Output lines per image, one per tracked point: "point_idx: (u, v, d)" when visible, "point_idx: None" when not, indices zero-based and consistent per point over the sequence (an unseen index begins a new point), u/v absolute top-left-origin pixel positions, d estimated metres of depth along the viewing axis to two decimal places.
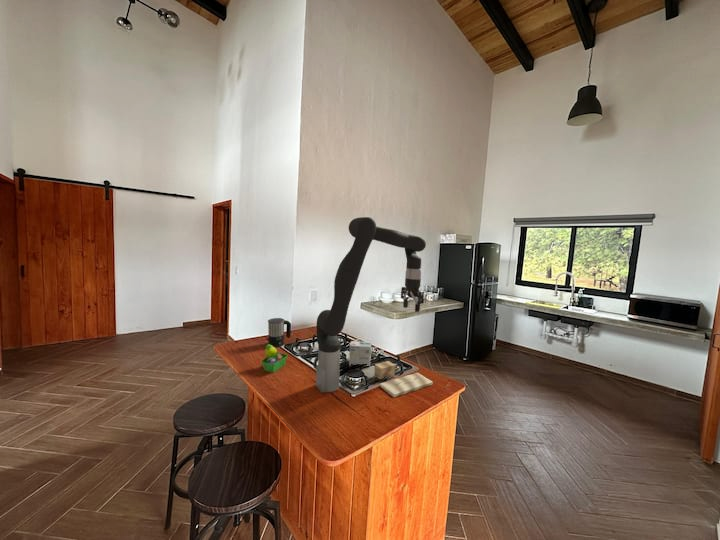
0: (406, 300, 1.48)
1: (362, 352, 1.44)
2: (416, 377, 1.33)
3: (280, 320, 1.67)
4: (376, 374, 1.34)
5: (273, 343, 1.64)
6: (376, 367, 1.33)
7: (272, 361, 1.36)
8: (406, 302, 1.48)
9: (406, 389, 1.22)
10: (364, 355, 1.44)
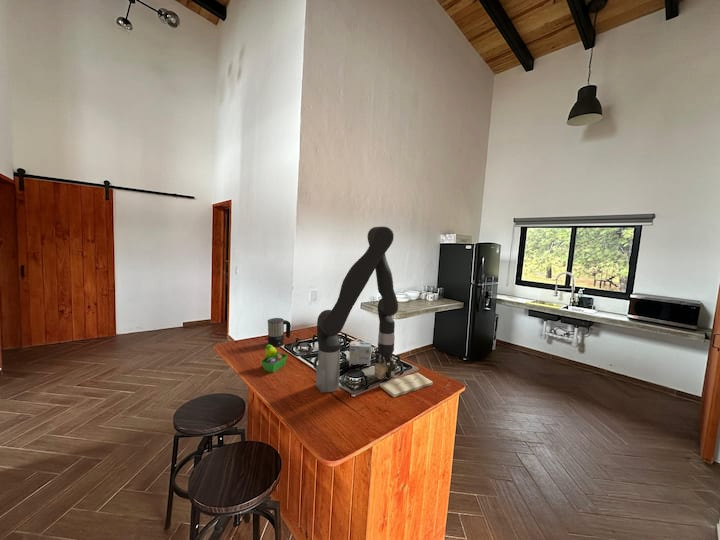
0: None
1: (362, 352, 1.44)
2: (416, 377, 1.33)
3: (280, 320, 1.68)
4: (376, 374, 1.34)
5: (273, 343, 1.65)
6: (376, 367, 1.33)
7: (272, 361, 1.36)
8: None
9: (406, 389, 1.22)
10: (364, 355, 1.44)
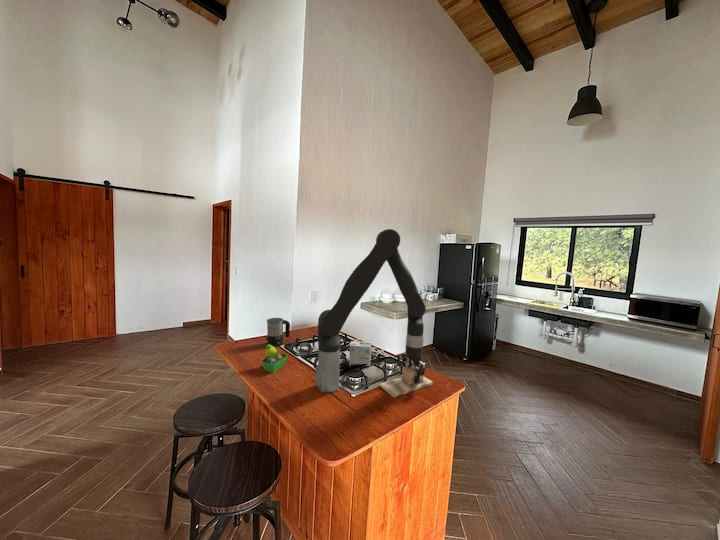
0: None
1: (362, 352, 1.44)
2: None
3: (279, 320, 1.68)
4: (404, 378, 1.28)
5: (272, 343, 1.65)
6: (404, 371, 1.28)
7: (272, 361, 1.36)
8: None
9: (406, 389, 1.22)
10: (364, 355, 1.44)
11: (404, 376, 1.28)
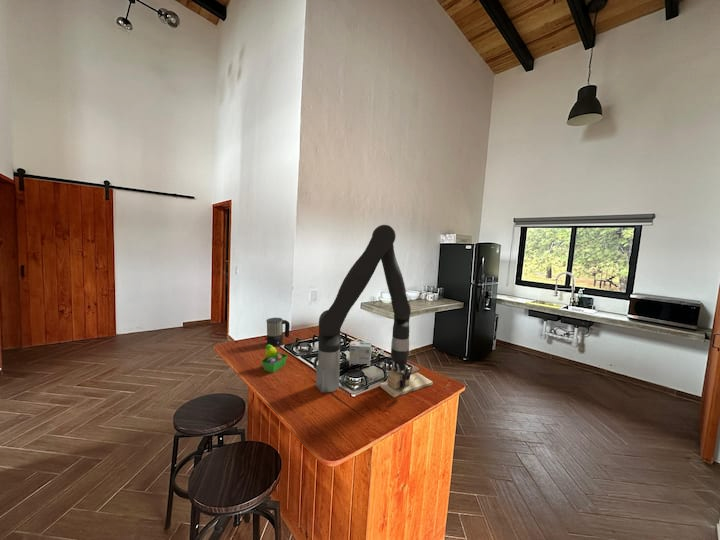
0: None
1: (362, 352, 1.44)
2: (416, 377, 1.33)
3: (278, 320, 1.68)
4: (390, 382, 1.24)
5: (272, 343, 1.65)
6: (390, 374, 1.24)
7: (272, 361, 1.36)
8: None
9: (406, 389, 1.22)
10: (364, 355, 1.44)
11: (390, 380, 1.24)
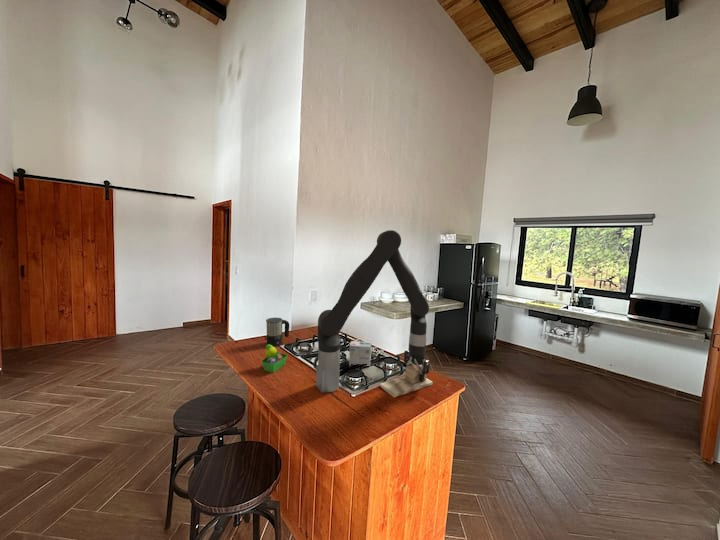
0: None
1: (362, 352, 1.44)
2: None
3: (278, 319, 1.68)
4: (407, 377, 1.29)
5: (271, 342, 1.65)
6: (407, 370, 1.29)
7: (272, 361, 1.36)
8: None
9: (406, 389, 1.22)
10: (364, 355, 1.44)
11: (407, 375, 1.29)
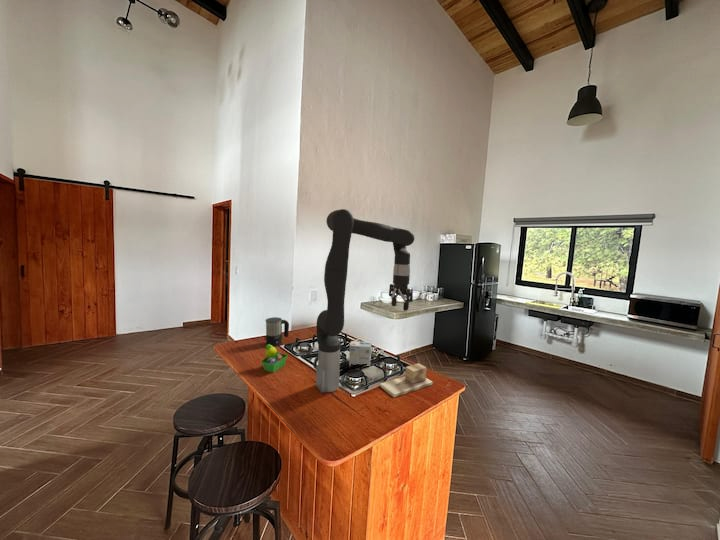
0: (394, 298, 1.38)
1: (362, 352, 1.44)
2: None
3: (278, 319, 1.69)
4: (407, 377, 1.29)
5: (271, 342, 1.66)
6: (407, 370, 1.29)
7: (272, 361, 1.36)
8: (394, 300, 1.38)
9: (406, 389, 1.22)
10: (364, 355, 1.44)
11: (407, 375, 1.29)
